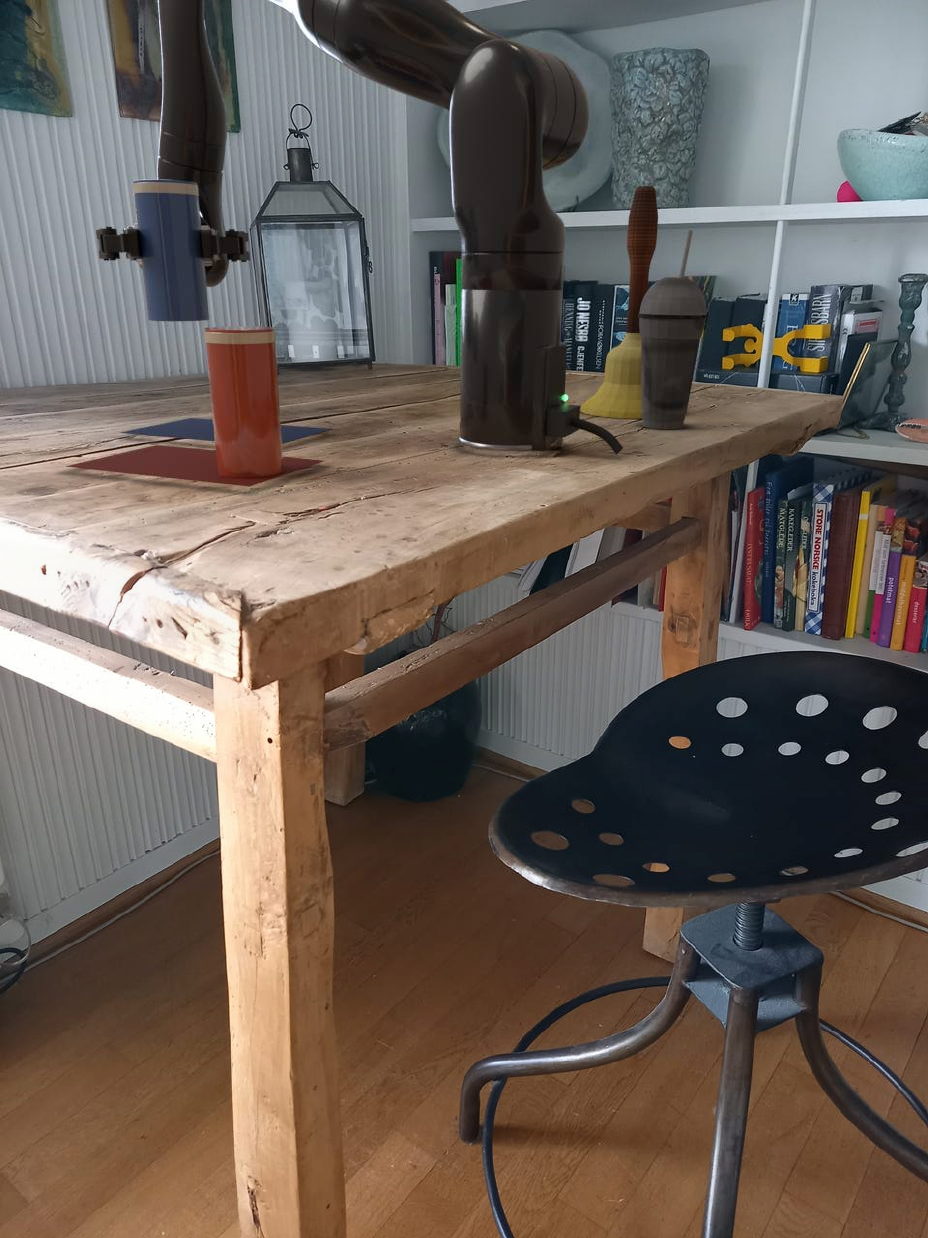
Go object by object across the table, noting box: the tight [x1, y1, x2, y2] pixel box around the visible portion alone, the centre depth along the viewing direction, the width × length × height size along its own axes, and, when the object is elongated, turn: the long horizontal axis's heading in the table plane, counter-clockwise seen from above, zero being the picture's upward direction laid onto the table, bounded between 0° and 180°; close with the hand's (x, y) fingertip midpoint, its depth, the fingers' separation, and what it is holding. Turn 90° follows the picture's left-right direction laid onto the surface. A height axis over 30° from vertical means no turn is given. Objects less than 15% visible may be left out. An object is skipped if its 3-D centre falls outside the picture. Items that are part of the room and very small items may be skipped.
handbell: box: [580, 185, 659, 420], centre depth 106 cm, size 12×12×25 cm
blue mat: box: [119, 417, 334, 445], centre depth 91 cm, size 18×11×1 cm, turn 67°
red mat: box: [65, 444, 325, 487], centre depth 76 cm, size 18×11×1 cm, turn 67°
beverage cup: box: [638, 229, 708, 430], centre depth 96 cm, size 7×7×20 cm
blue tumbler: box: [131, 178, 210, 322], centre depth 78 cm, size 5×5×11 cm
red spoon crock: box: [203, 325, 284, 478], centre depth 71 cm, size 5×5×11 cm
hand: (170, 243), depth 75 cm, fingers closed on blue tumbler, 5 cm apart
